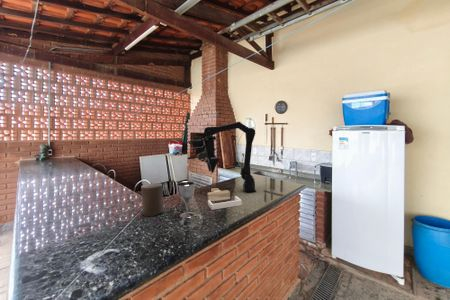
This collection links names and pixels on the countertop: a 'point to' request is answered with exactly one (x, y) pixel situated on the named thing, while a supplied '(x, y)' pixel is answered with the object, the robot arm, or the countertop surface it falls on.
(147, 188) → the pillar candle
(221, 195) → the t block
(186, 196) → the wine glass
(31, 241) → the countertop surface
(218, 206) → the bracket
